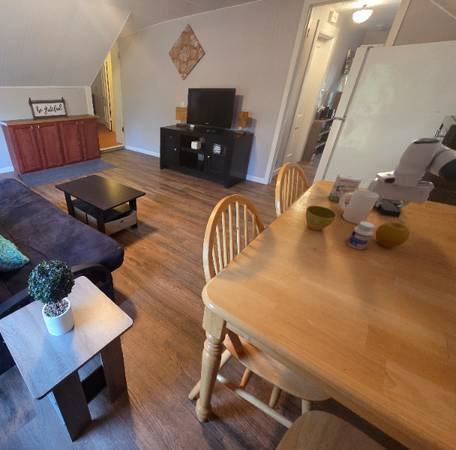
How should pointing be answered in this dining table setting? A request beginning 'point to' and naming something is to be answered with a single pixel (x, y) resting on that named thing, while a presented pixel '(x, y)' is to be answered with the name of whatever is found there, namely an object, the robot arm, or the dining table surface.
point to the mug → (358, 205)
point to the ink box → (344, 187)
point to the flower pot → (319, 217)
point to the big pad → (393, 202)
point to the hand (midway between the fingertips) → (387, 208)
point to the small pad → (388, 209)
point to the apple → (391, 234)
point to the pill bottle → (361, 235)
